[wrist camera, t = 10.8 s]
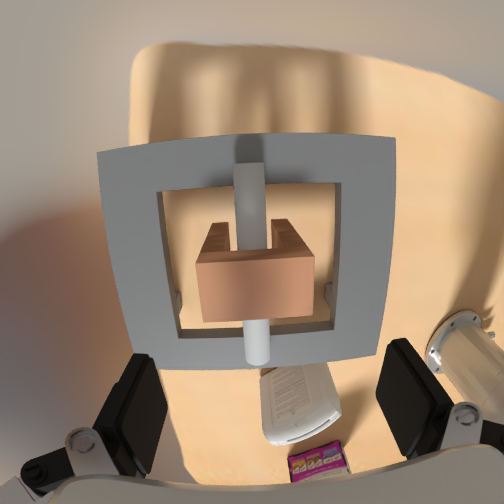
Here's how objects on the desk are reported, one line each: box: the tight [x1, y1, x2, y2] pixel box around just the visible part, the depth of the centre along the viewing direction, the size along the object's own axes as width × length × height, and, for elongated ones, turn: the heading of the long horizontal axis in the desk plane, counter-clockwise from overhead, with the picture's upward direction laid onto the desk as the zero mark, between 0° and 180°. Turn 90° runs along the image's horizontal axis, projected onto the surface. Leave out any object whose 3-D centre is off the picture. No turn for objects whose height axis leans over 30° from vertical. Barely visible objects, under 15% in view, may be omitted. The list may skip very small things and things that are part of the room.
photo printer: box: [260, 362, 342, 446], centre depth 34 cm, size 10×4×12 cm, turn 126°
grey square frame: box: [97, 133, 396, 370], centre depth 27 cm, size 22×19×14 cm
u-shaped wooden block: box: [196, 219, 315, 322], centre depth 23 cm, size 7×4×11 cm, turn 93°
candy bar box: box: [287, 440, 352, 483], centre depth 40 cm, size 11×5×16 cm, turn 115°
